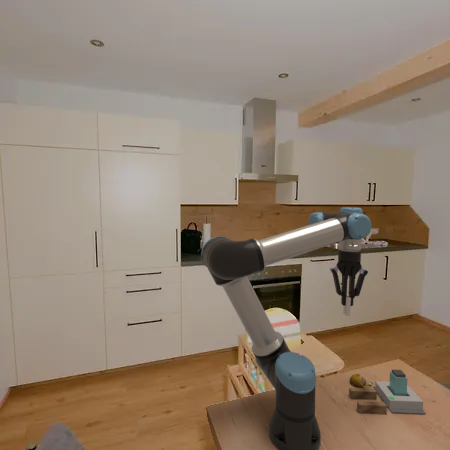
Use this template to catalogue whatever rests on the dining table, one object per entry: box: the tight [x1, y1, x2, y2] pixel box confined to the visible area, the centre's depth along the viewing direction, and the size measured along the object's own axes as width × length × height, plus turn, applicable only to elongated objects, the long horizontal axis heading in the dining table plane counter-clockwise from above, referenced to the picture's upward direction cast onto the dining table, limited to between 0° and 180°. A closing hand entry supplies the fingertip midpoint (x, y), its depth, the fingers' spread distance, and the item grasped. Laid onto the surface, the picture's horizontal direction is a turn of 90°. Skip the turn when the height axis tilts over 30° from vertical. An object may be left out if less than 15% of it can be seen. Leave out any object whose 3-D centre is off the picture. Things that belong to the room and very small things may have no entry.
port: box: [372, 380, 427, 416], centre depth 105 cm, size 11×14×4 cm
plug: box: [389, 369, 408, 396], centre depth 104 cm, size 4×4×10 cm
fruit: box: [349, 373, 374, 388], centre depth 114 cm, size 8×8×4 cm
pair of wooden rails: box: [348, 387, 388, 415], centre depth 102 cm, size 9×9×3 cm
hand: (346, 314), depth 106 cm, fingers closed
